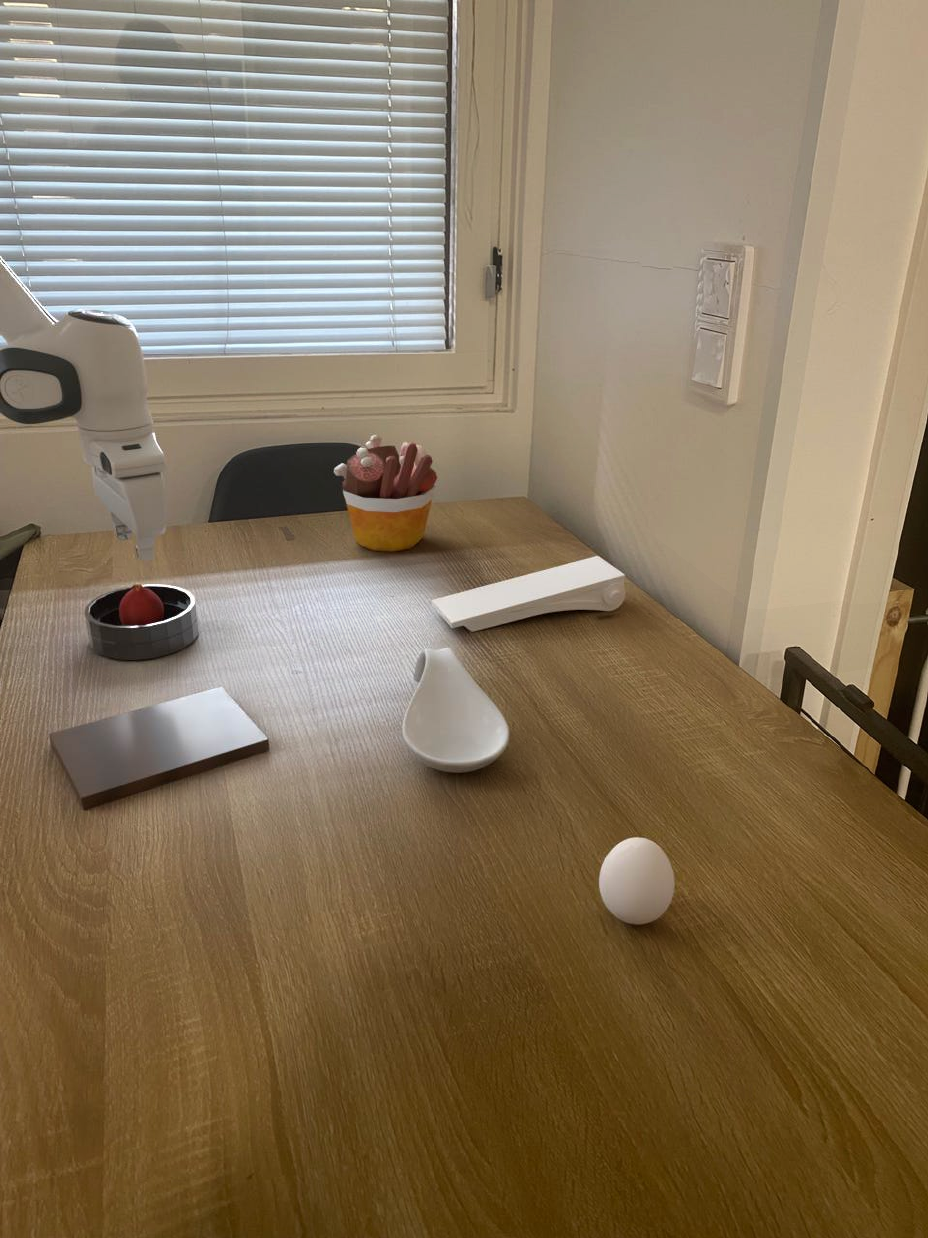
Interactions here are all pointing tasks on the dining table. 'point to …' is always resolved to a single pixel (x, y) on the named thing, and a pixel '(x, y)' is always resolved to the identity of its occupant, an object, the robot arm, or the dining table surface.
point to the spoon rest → (452, 717)
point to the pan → (142, 639)
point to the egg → (636, 881)
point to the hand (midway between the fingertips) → (134, 548)
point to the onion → (140, 607)
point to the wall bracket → (536, 595)
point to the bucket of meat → (388, 494)
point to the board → (155, 745)
